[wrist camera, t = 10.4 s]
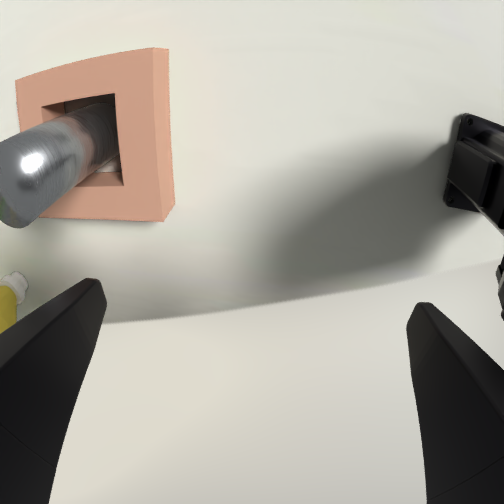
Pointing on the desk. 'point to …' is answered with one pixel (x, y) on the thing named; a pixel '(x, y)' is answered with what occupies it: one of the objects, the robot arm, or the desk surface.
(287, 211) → the desk surface
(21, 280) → the light bulb
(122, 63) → the socket
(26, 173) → the cylinder
